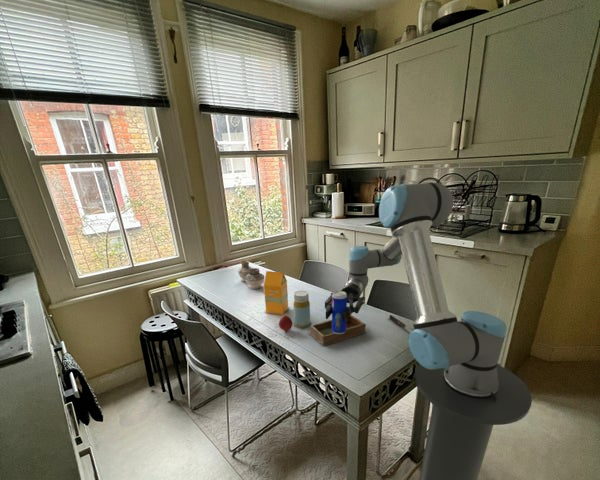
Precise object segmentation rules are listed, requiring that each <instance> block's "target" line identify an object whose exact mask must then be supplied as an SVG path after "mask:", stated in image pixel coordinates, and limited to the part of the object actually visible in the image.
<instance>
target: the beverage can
mask: <svg viewBox="0 0 600 480" xmlns="http://www.w3.org/2000/svg"><path fill="white" fill-rule="evenodd" d="M332 293H333V295H332V314H331V320H332V331H333V332H334V333H336V334H342V333H344V332H345V331H346V320H345V321H344V322H343V321H342V314H343V312H344V311H345V309H346V308H347V306H348V303H347V294H346V292H344V291H341V290H336V291H334V292H332Z"/></svg>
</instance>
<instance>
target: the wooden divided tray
mask: <svg viewBox="0 0 600 480" xmlns="http://www.w3.org/2000/svg"><path fill="white" fill-rule="evenodd" d="M365 333H366V323H365V322H364V321H361V319H358V318H357V317H355V316H354V315H353V314H351V316H347V318H346V331H345V332H344V333H342V334H336V333H334V332H333V331H332V319H328V320H325V321H322V322H318V323H315V324H311V325H310V335H311V336H312V337H313V338H314V339H315V340H316V341H318V343H319V344H321V345H322V346H323V347H324V346H328V345H330V344H333V343H337V342H339V341H343V340H347V339H350V338H353V337H356V336H359V335H362V334H365Z"/></svg>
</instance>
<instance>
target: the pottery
mask: <svg viewBox="0 0 600 480" xmlns="http://www.w3.org/2000/svg"><path fill="white" fill-rule="evenodd" d="M240 264H241V267H239V269H238V270H237V273H238V275H239V277H240V278H241V281H242V282H245V283H246V284H247V285H248V286H250V289H252V290H257V289H260V288H261V285H262V284H264V282H265V275H264V274H263V273H260V268H257V267H251V266H250V261H249V260H247V259H245V260H244V259H243V260H240Z"/></svg>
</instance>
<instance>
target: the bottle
mask: <svg viewBox="0 0 600 480" xmlns="http://www.w3.org/2000/svg"><path fill="white" fill-rule="evenodd" d="M309 297H310V296H309V292H308V291H307V290H297V291H295V292H294V293H293V298H294V300H293V318H294V325H295V326H296V327H297V328H307V327H308V326H309V325H310V324H311V303H310V300H309Z"/></svg>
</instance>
